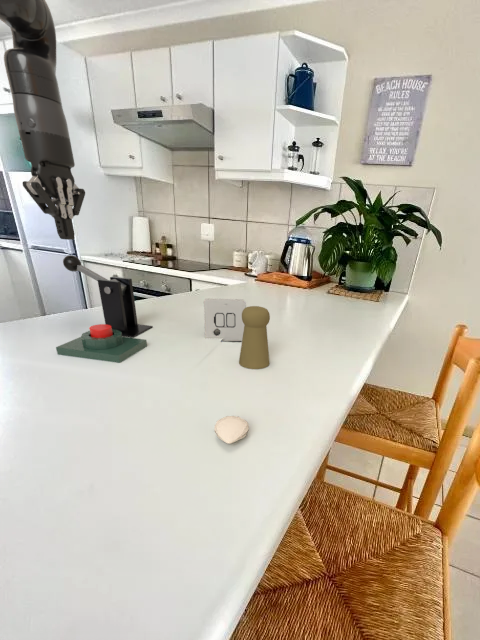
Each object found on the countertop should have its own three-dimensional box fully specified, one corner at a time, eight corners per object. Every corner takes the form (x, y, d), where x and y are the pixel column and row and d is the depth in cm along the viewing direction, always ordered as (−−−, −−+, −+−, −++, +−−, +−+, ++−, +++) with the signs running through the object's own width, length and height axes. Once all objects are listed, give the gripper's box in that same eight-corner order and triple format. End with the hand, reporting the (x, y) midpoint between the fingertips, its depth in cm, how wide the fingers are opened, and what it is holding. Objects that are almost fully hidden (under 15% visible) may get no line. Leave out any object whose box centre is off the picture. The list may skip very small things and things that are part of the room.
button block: (58, 358, 58) (53, 337, 56) (92, 342, 66) (88, 323, 64) (120, 367, 57) (117, 345, 55) (147, 350, 65) (145, 330, 63)
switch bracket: (90, 335, 70) (79, 279, 64) (113, 325, 77) (105, 274, 71) (134, 341, 69) (126, 284, 63) (153, 330, 76) (147, 278, 70)
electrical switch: (204, 342, 72) (203, 299, 68) (205, 336, 76) (203, 296, 73) (246, 342, 74) (247, 301, 70) (244, 337, 79) (245, 298, 75)
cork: (248, 371, 60) (249, 312, 55) (233, 359, 64) (233, 304, 59) (275, 365, 63) (279, 309, 58) (259, 355, 67) (261, 302, 62)
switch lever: (58, 267, 66) (60, 252, 65) (69, 265, 69) (72, 251, 68) (116, 299, 68) (119, 285, 66) (125, 296, 70) (128, 283, 69)
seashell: (249, 428, 43) (249, 412, 42) (246, 452, 39) (246, 435, 38) (217, 427, 43) (216, 411, 42) (210, 451, 39) (209, 433, 37)
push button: (86, 337, 59) (84, 328, 58) (99, 332, 62) (97, 323, 61) (105, 340, 58) (103, 330, 57) (117, 334, 61) (115, 325, 61)
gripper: (54, 140, 64) (74, 236, 71) (-10, 121, 52) (21, 238, 60) (89, 143, 63) (105, 239, 71) (32, 123, 51) (59, 242, 59)
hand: (67, 239), depth 65 cm, fingers closed
